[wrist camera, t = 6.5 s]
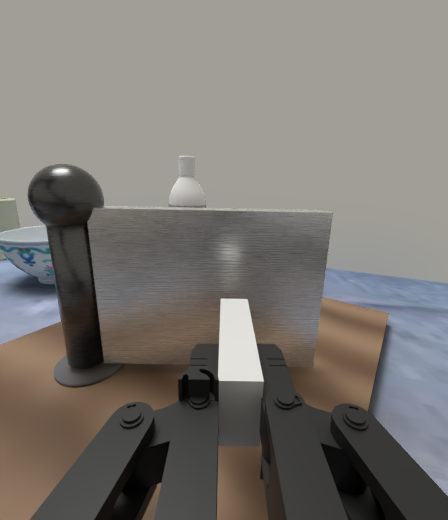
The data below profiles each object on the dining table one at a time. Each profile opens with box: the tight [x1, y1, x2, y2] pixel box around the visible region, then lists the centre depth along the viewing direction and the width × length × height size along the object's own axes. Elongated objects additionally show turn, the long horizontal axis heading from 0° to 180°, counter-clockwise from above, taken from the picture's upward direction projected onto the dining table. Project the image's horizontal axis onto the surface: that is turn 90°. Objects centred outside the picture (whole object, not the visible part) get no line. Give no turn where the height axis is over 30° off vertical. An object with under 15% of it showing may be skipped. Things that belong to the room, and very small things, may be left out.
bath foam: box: [169, 156, 206, 208], centre depth 52 cm, size 7×7×20 cm
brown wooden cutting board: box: [0, 297, 389, 520], centre depth 26 cm, size 34×28×2 cm
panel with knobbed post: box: [28, 164, 333, 369], centre depth 20 cm, size 20×4×14 cm, turn 90°
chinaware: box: [0, 225, 55, 284], centre depth 44 cm, size 15×15×8 cm
